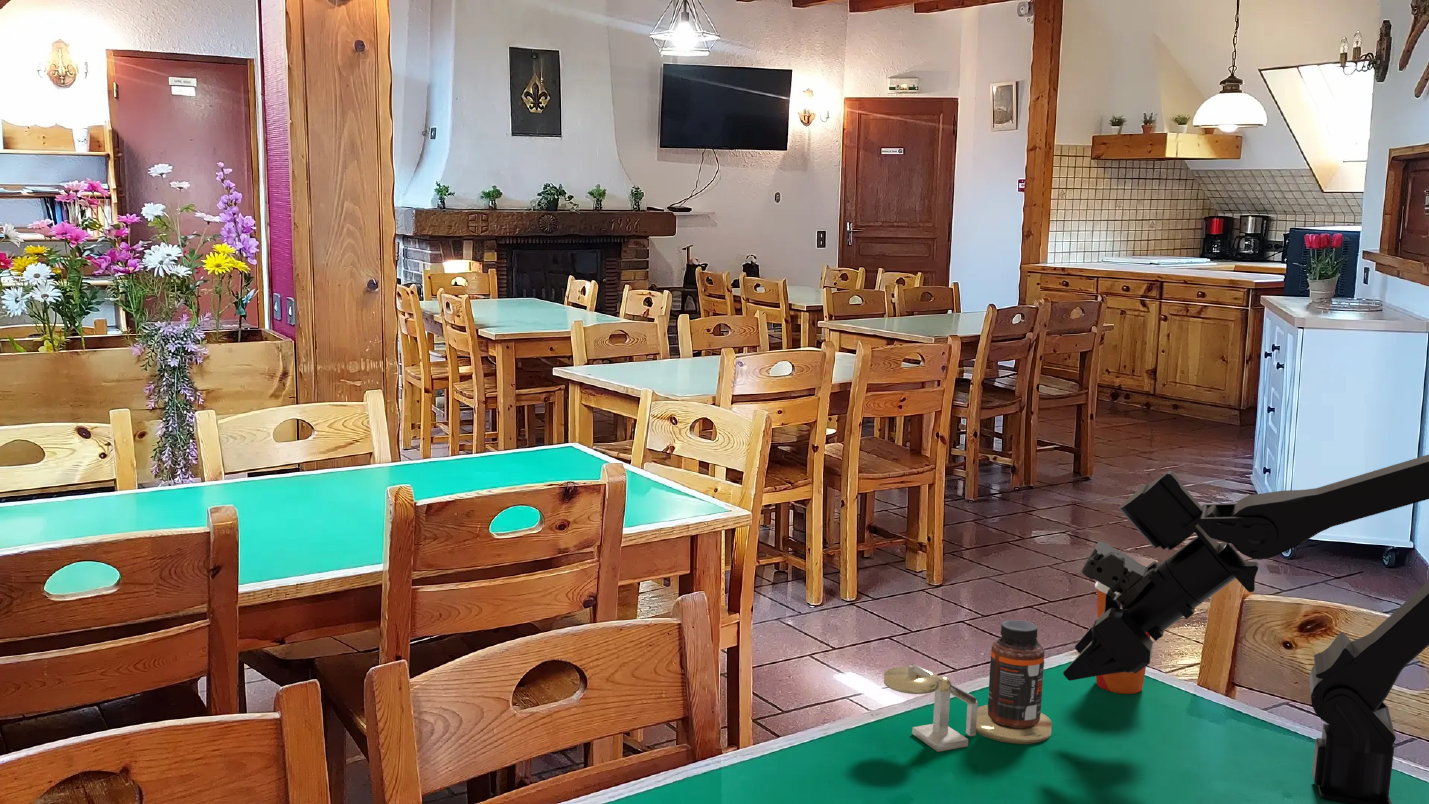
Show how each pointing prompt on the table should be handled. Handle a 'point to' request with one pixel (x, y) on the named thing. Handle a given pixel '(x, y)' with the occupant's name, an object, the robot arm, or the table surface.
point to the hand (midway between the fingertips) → (1071, 663)
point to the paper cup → (1123, 680)
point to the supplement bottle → (1016, 676)
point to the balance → (939, 732)
